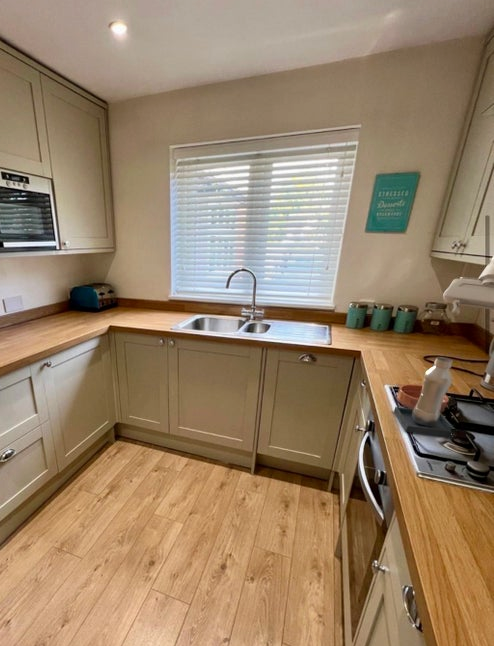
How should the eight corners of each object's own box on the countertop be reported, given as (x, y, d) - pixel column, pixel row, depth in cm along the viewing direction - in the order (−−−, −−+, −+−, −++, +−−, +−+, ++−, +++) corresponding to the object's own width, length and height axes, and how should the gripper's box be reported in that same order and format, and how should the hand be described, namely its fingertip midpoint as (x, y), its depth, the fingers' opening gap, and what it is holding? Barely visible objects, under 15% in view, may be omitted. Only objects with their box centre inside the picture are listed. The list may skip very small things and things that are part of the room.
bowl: (434, 397, 113) (438, 386, 111) (452, 416, 101) (456, 405, 99) (391, 392, 116) (394, 382, 114) (404, 411, 104) (407, 399, 102)
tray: (438, 417, 100) (440, 412, 99) (455, 438, 90) (458, 432, 89) (393, 412, 103) (395, 406, 102) (405, 431, 93) (407, 425, 92)
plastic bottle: (413, 426, 95) (434, 362, 87) (407, 415, 100) (426, 353, 93) (439, 431, 93) (463, 365, 85) (432, 419, 98) (454, 356, 91)
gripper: (455, 269, 103) (432, 304, 102) (546, 277, 87) (520, 318, 86) (456, 283, 107) (433, 316, 106) (544, 292, 91) (519, 332, 90)
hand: (473, 317), depth 96 cm, fingers open, 8 cm apart
